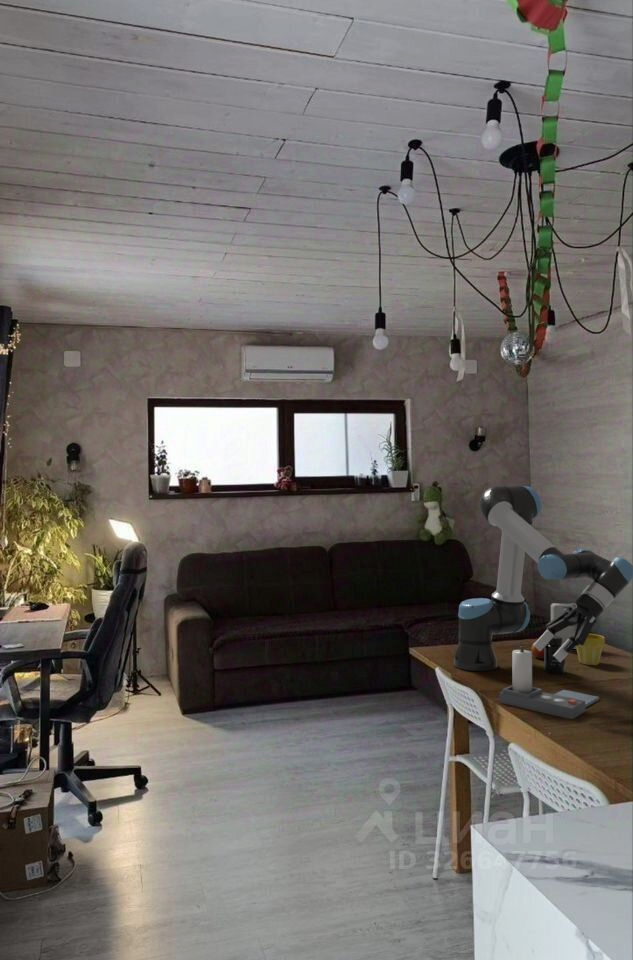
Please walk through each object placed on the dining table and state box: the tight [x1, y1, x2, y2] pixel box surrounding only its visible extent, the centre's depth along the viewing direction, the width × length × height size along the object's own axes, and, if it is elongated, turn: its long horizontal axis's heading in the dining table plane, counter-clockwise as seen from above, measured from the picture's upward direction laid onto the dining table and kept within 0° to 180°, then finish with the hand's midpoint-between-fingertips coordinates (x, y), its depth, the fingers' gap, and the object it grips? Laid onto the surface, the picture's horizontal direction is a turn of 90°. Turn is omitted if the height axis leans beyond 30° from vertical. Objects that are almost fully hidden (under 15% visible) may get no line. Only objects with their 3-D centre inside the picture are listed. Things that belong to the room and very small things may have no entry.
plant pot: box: [576, 633, 606, 666], centre depth 255 cm, size 10×10×10 cm
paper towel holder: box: [511, 645, 533, 694], centre depth 208 cm, size 6×6×14 cm
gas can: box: [550, 584, 591, 651], centre depth 277 cm, size 15×5×25 cm, turn 83°
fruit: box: [531, 641, 548, 660], centre depth 262 cm, size 8×8×8 cm
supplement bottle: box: [543, 636, 566, 675], centre depth 243 cm, size 7×7×12 cm
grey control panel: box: [498, 684, 586, 720], centre depth 204 cm, size 22×9×4 cm, turn 47°
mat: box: [553, 689, 600, 708], centre depth 211 cm, size 11×11×1 cm
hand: (546, 653), depth 208 cm, fingers open, 13 cm apart
